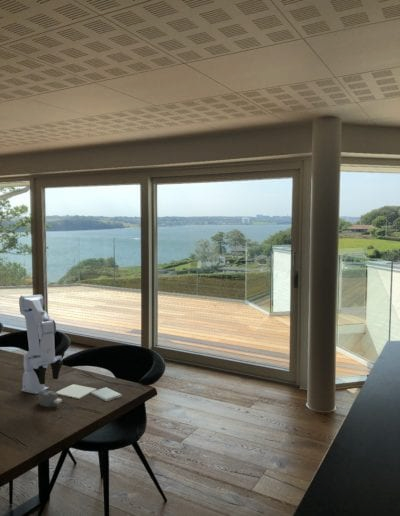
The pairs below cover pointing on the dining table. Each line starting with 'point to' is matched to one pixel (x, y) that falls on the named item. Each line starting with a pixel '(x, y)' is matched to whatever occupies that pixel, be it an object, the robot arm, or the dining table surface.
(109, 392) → the hard drive
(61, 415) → the dining table surface
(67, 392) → the rubber mat
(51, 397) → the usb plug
